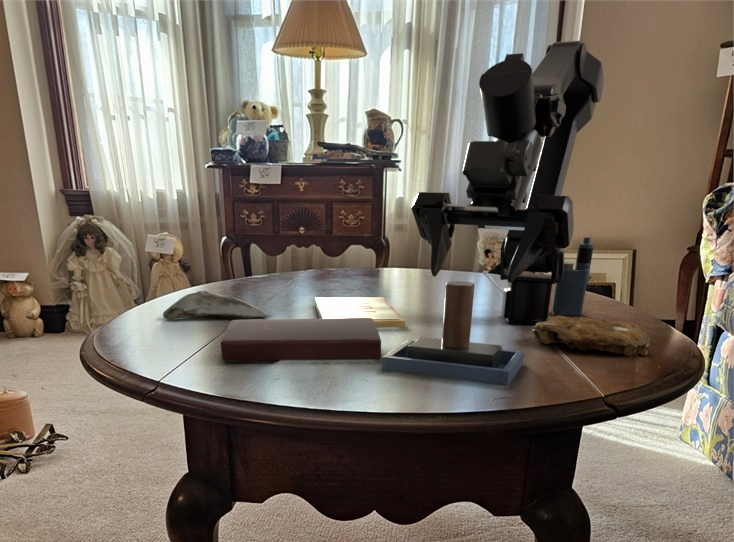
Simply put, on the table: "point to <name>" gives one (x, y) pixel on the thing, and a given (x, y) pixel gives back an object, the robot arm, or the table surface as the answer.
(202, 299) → the fossil
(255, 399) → the table surface
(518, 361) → the tray
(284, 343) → the book
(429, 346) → the eraser
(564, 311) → the vaping device
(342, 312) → the board
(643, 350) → the decorative rock
